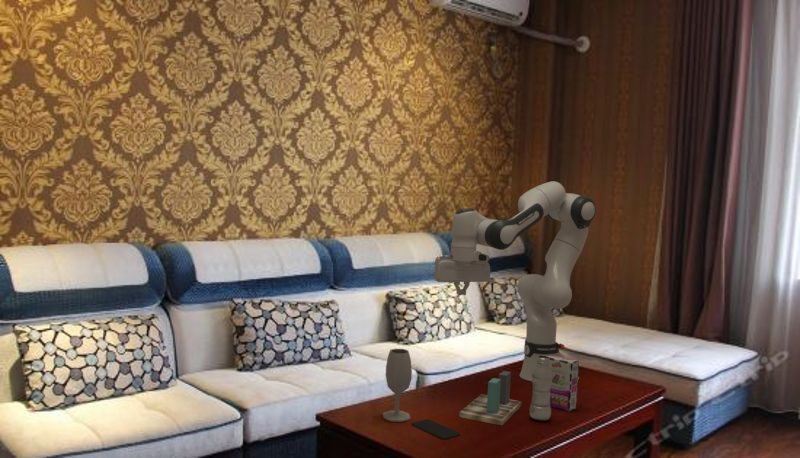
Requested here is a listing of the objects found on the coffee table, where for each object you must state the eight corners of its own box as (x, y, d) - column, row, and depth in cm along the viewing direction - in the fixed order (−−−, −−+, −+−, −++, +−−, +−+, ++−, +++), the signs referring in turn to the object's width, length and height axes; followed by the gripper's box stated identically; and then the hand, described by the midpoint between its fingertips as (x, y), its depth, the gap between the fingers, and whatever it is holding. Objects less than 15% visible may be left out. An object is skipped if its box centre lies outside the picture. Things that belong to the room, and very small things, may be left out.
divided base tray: (459, 416, 219) (459, 409, 219) (480, 398, 238) (481, 392, 238) (502, 425, 214) (502, 418, 213) (521, 406, 232) (521, 399, 232)
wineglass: (378, 414, 218) (381, 348, 217) (403, 411, 222) (406, 346, 220) (388, 424, 210) (391, 355, 209) (415, 421, 214) (418, 353, 212)
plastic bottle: (550, 424, 217) (554, 360, 215) (528, 421, 218) (532, 358, 217) (550, 417, 223) (554, 355, 222) (528, 414, 224) (532, 353, 223)
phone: (428, 418, 216) (462, 433, 204) (427, 421, 216) (461, 436, 204) (409, 423, 211) (443, 438, 199) (409, 425, 211) (443, 441, 199)
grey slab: (497, 404, 228) (499, 374, 227) (501, 400, 232) (503, 370, 231) (504, 406, 226) (506, 375, 226) (509, 401, 231) (511, 372, 230)
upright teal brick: (486, 413, 219) (488, 381, 218) (491, 408, 223) (493, 378, 222) (494, 414, 218) (496, 383, 217) (499, 410, 222) (500, 379, 221)
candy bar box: (576, 409, 232) (580, 360, 231) (569, 412, 229) (572, 363, 228) (547, 400, 240) (550, 353, 239) (539, 403, 236) (542, 355, 235)
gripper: (439, 256, 237) (437, 296, 238) (493, 256, 244) (491, 295, 245) (432, 253, 243) (430, 293, 244) (485, 254, 250) (483, 292, 251)
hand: (461, 294), depth 244 cm, fingers closed
